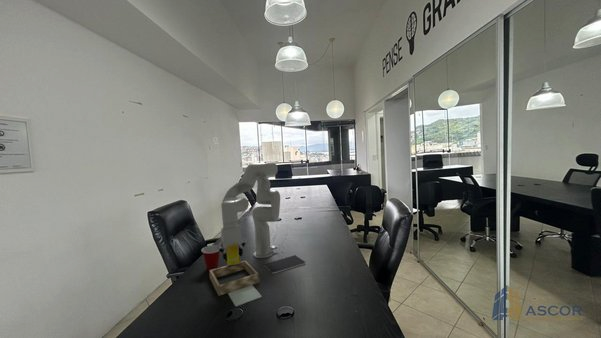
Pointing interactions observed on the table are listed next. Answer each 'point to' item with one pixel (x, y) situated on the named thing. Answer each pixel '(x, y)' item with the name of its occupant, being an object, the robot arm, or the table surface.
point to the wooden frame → (236, 283)
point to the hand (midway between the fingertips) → (233, 257)
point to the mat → (244, 295)
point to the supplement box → (233, 255)
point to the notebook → (284, 264)
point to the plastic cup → (211, 257)
